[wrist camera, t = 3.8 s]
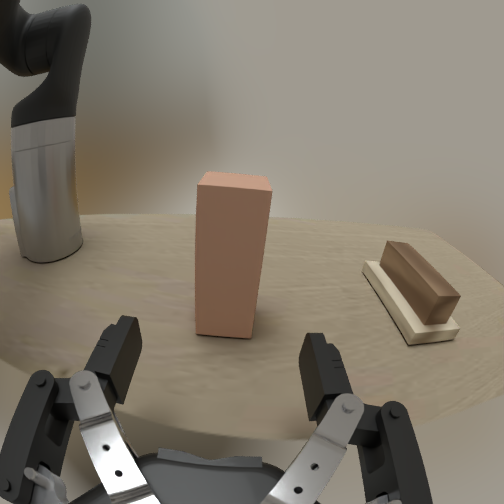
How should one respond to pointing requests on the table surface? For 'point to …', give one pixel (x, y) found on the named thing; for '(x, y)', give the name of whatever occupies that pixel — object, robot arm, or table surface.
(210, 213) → the block
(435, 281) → the stand
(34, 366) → the table surface
